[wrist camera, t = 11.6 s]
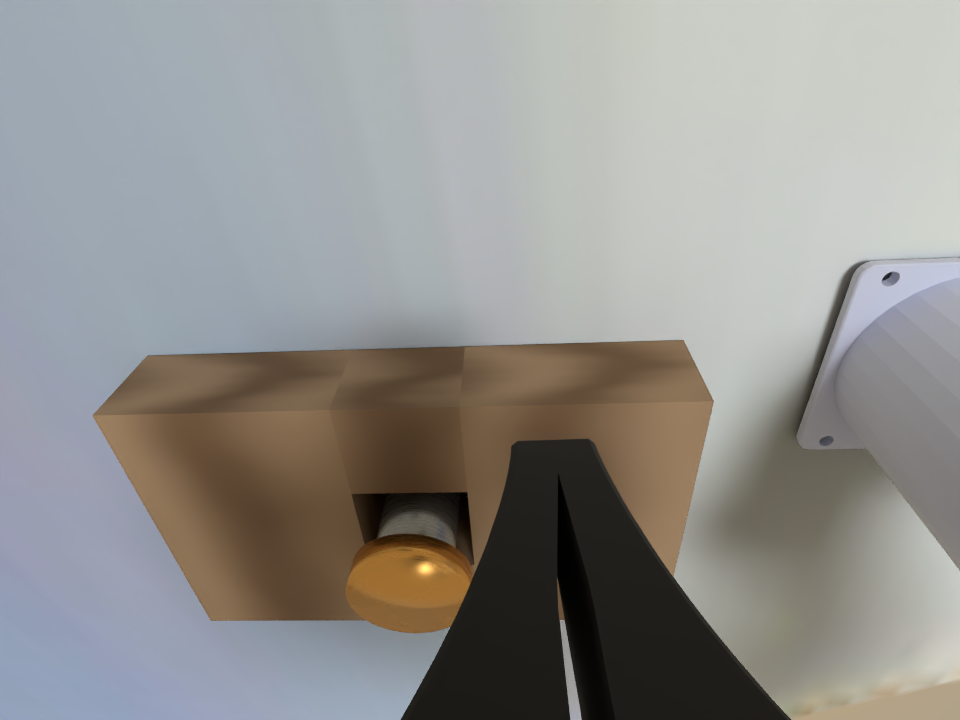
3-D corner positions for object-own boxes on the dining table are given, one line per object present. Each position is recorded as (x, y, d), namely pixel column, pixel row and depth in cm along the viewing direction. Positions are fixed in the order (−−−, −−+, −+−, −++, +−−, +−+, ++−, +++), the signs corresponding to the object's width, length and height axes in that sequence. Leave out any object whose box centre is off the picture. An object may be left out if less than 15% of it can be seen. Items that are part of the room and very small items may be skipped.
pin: (487, 444, 24) (484, 570, 19) (466, 513, 26) (458, 640, 21) (382, 425, 23) (350, 549, 18) (371, 497, 26) (340, 623, 21)
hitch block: (683, 340, 20) (713, 401, 17) (646, 550, 27) (663, 619, 24) (147, 355, 21) (92, 415, 19) (240, 554, 28) (211, 620, 25)
